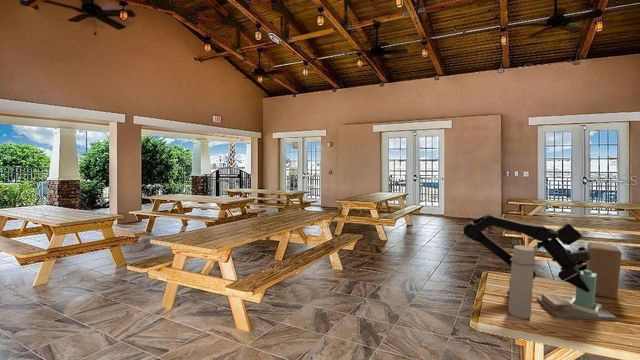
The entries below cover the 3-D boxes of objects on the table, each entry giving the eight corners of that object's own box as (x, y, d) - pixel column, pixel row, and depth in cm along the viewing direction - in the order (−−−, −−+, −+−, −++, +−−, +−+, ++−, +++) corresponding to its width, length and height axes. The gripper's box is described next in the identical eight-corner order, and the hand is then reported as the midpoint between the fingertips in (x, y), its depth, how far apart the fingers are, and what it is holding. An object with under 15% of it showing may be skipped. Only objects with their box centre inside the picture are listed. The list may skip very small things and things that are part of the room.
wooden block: (617, 299, 138) (622, 251, 136) (586, 294, 143) (590, 247, 141) (612, 291, 147) (617, 245, 145) (583, 285, 152) (587, 241, 150)
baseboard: (557, 317, 123) (557, 310, 123) (537, 299, 137) (537, 294, 137) (616, 320, 121) (617, 314, 121) (589, 302, 135) (590, 296, 135)
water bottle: (534, 321, 120) (539, 252, 118) (509, 318, 123) (514, 249, 120) (527, 309, 129) (531, 244, 127) (503, 306, 131) (507, 242, 129)
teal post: (574, 307, 129) (577, 270, 128) (577, 302, 132) (580, 267, 131) (591, 311, 125) (594, 274, 124) (594, 307, 129) (597, 271, 127)
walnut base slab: (554, 310, 126) (554, 304, 126) (541, 299, 135) (541, 293, 134) (571, 311, 125) (572, 305, 125) (557, 300, 134) (558, 294, 134)
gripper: (571, 245, 123) (608, 284, 116) (581, 236, 136) (615, 271, 129) (544, 261, 129) (578, 299, 122) (556, 251, 142) (587, 285, 135)
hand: (591, 288), depth 127 cm, fingers open, 9 cm apart
